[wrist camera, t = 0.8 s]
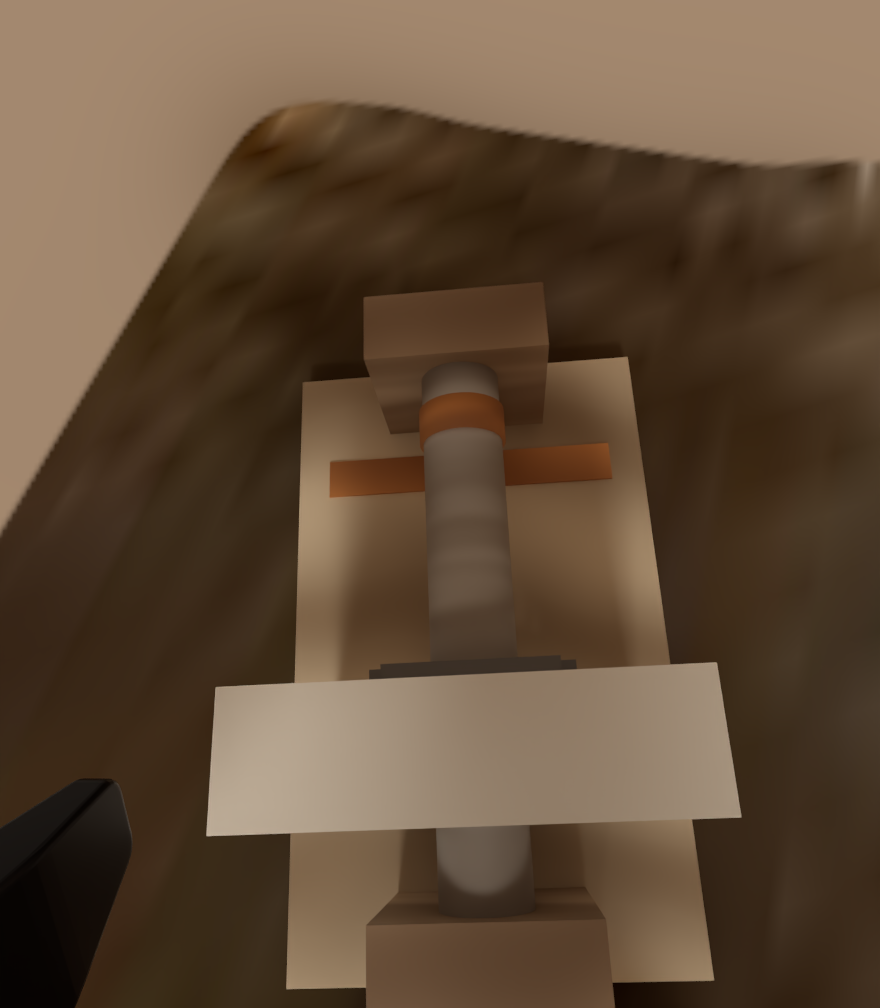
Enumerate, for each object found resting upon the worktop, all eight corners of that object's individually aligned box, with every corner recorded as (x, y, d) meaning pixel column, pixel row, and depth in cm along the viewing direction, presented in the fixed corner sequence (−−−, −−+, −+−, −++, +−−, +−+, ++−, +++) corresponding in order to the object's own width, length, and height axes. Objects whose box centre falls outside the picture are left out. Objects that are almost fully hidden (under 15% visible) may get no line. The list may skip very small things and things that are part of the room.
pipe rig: (705, 970, 20) (776, 1043, 15) (296, 979, 21) (220, 1051, 15) (623, 371, 26) (652, 265, 21) (310, 396, 27) (259, 300, 22)
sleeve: (646, 800, 20) (741, 817, 12) (329, 811, 21) (206, 835, 12) (631, 678, 21) (709, 614, 13) (331, 692, 22) (218, 641, 14)
